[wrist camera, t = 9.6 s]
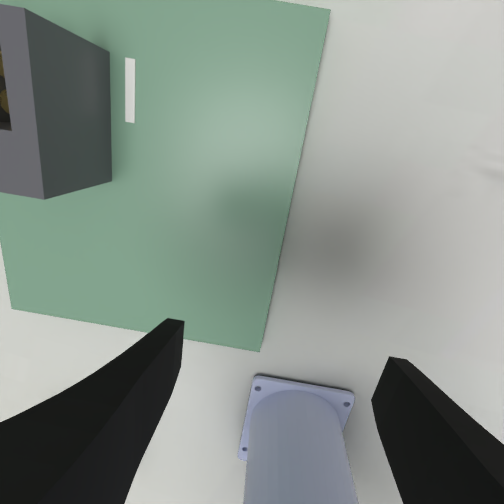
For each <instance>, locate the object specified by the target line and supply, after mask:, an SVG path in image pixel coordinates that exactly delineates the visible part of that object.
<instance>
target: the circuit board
mask: <svg viewBox="0 0 504 504" xmlns="http://www.w3.org/2000/svg"><path fill="white" fill-rule="evenodd" d="M0 4H4V5H10V6H16V7H22V8H26V9H27V10H29V11H31V12H33V13H35V14H37V15H39V16H41V17H43V18H45V19H47V20H49V21H51V22H53V23H55V24H56V25H58V26H60V27H62V28H64V29H66V30H68V31H70V32H72V33H74V34H76V35H78V36H80V37H82V38H84V39H85V40H87V41H89V42H91V43H93V44H95V45H97V46H99V47H101V48H103V49H105V50H107V51H109V52H110V96H111V149H112V182H108V183H104V184H101V185H97V186H93V187H89V188H86V189H82V190H78V191H75V192H71V193H67V194H64V195H60V196H56V197H53V198H49V199H45V200H42V199H37V198H31V197H25V196H19V195H13V194H7V193H2V192H0V242H1V248H2V254H3V260H4V266H5V271H6V277H7V283H8V289H9V295H10V301H11V307H12V309H15V310H21V311H27V312H33V313H38V314H44V315H50V316H55V317H61V318H67V319H73V320H78V321H84V322H90V323H96V324H101V325H107V326H113V327H118V328H124V329H130V330H136V331H141V332H147V333H149V332H150V331H152V330H153V329H154V328H155V327H156V326H158V325H159V324H160V323H161V322H163V321H164V320H165V319H167V318H171V319H177V320H183V321H185V325H184V336H183V339H187V340H193V341H198V342H204V343H210V344H216V345H221V346H227V347H233V348H239V349H244V350H250V351H256V352H260V348H261V344H262V339H263V334H264V329H265V324H266V319H267V315H268V310H269V305H270V300H271V295H272V290H273V286H274V281H275V276H276V271H277V266H278V261H279V257H280V252H281V247H282V242H283V237H284V233H285V228H286V223H287V218H288V213H289V208H290V204H291V199H292V194H293V189H294V184H295V179H296V175H297V170H298V165H299V160H300V155H301V150H302V146H303V141H304V136H305V131H306V126H307V122H308V117H309V112H310V107H311V102H312V97H313V93H314V88H315V83H316V78H317V73H318V68H319V64H320V59H321V54H322V49H323V44H324V39H325V35H326V30H327V25H328V20H329V15H330V11H331V10H330V9H324V8H318V7H312V6H306V5H300V4H294V3H288V2H282V1H275V0H0Z"/></svg>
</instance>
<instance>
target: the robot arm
mask: <svg viewBox="0 0 504 504" xmlns="http://www.w3.org/2000/svg"><path fill="white" fill-rule="evenodd" d="M184 325H185V321H183V320H177V319H171V318H167V319H165V320H164V321H163V322H161V323H160V324H159V325H158V326H156V327H155V328H154V329H153V330H152V331H150V332H149V333H148V334H147V335H145V336H144V337H143V338H142V339H140V340H139V341H138V342H136V343H135V344H134V345H132V346H131V347H130V348H128V349H127V350H126V351H125V352H123V353H122V354H120V355H119V356H118V357H116V358H115V359H113V360H112V361H110V362H109V363H107V364H106V365H105V366H103V367H102V368H100V369H99V370H97V371H96V372H94V373H93V374H91V375H89V376H88V377H86V378H85V379H83V380H81V381H80V382H78V383H76V384H75V385H73V386H71V387H70V388H68V389H66V390H64V391H63V392H61V393H59V394H57V395H55V396H53V397H51V398H49V399H47V400H45V401H43V402H41V403H39V404H37V405H35V406H33V407H32V408H30V409H28V410H26V411H24V412H22V413H20V414H18V415H16V416H13V417H11V418H9V419H7V420H5V421H2V422H0V504H124V503H125V500H126V498H127V495H128V492H129V489H130V487H131V484H132V481H133V479H134V476H135V474H136V471H137V469H138V467H139V464H140V462H141V460H142V457H143V455H144V453H145V451H146V449H147V447H148V445H149V442H150V440H151V438H152V436H153V434H154V432H155V429H156V427H157V425H158V423H159V421H160V419H161V417H162V414H163V412H164V410H165V408H166V406H167V403H168V401H169V399H170V397H171V395H172V392H173V389H174V386H175V383H176V380H177V377H178V374H179V371H180V368H181V359H182V348H183V336H184ZM256 386H259V387H256ZM354 401H355V397H354V394H353V393H352V392H350V391H345V390H339V389H333V388H328V387H322V386H316V385H311V384H305V383H299V382H294V381H288V380H282V379H276V378H271V377H265V376H255V377H254V378H253V381H252V386H251V391H250V396H249V401H248V406H247V411H246V416H245V420H244V425H243V430H242V435H241V440H240V445H239V450H238V458H239V459H240V460H243V461H247V466H246V478H245V490H244V502H243V504H359V503H358V499H357V495H356V490H355V486H354V482H353V477H352V473H351V469H350V464H349V460H348V456H347V451H346V447H345V443H344V438H343V434H342V432H343V430H344V427H345V424H346V422H347V419H348V417H349V414H350V411H351V409H352V406H353V404H354ZM345 402H347V403H345ZM371 402H372V407H373V411H374V416H375V421H376V425H377V429H378V433H379V436H380V439H381V442H382V445H383V447H384V450H385V453H386V456H387V459H388V462H389V465H390V467H391V470H392V473H393V476H394V479H395V481H396V484H397V487H398V490H399V493H400V496H401V498H402V501H403V504H504V444H502V443H501V442H500V441H499V440H498V439H496V438H495V437H494V436H493V435H492V434H490V433H489V432H488V431H487V430H486V429H484V428H483V427H482V426H481V425H480V424H479V423H477V422H476V421H475V420H474V419H473V418H472V417H471V416H469V415H468V414H467V413H466V412H465V411H464V410H463V409H462V408H460V407H459V406H458V405H457V404H456V403H455V402H454V401H453V400H452V399H451V398H449V397H448V396H447V395H446V394H445V393H444V392H443V391H442V390H441V389H440V388H438V387H437V386H436V385H435V384H434V383H433V382H432V381H431V380H430V379H429V378H428V377H426V376H425V375H424V374H423V373H422V372H421V371H420V370H419V369H417V368H416V367H415V366H414V365H413V364H412V363H410V362H409V361H408V360H406V359H401V358H395V357H389V358H388V361H387V363H386V365H385V368H384V370H383V373H382V375H381V377H380V380H379V382H378V385H377V387H376V390H375V392H374V394H373V397H372V399H371Z"/></svg>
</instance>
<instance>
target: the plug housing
mask: <svg viewBox="0 0 504 504" xmlns="http://www.w3.org/2000/svg"><path fill="white" fill-rule="evenodd" d="M0 51H1V53H2V61H3V68H4V76H5V78H4V77H3V76H1V75H0V93H1V92H2V91H3V90H5V89H6V90H7V98H8V105H9V113H10V114H9V113H7V112H6V111H5V110H4V109H3V108H2V106H1V104H0V192H2V193H7V194H13V195H19V196H25V197H31V198H37V199H42V200H45V199H49V198H53V197H56V196H60V195H64V194H67V193H71V192H75V191H78V190H82V189H86V188H89V187H93V186H97V185H101V184H104V183H108V182H112V149H111V96H110V52H109V51H107V50H105V49H103V48H101V47H99V46H97V45H95V44H93V43H91V42H89V41H87V40H85V39H84V38H82V37H80V36H78V35H76V34H74V33H72V32H70V31H68V30H66V29H64V28H62V27H60V26H58V25H56V24H55V23H53V22H51V21H49V20H47V19H45V18H43V17H41V16H39V15H37V14H35V13H33V12H31V11H29V10H27V9H26V8H22V7H16V6H10V5H4V4H0Z"/></svg>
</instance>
